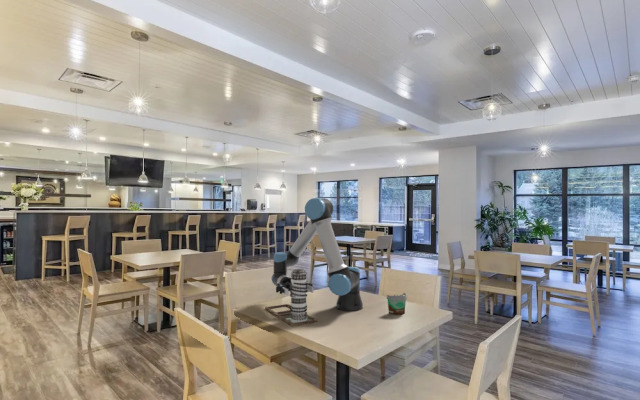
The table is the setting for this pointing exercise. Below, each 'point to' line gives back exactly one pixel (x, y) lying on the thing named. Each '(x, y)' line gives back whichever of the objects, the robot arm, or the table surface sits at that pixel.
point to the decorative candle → (298, 296)
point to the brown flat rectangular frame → (286, 316)
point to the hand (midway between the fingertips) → (300, 291)
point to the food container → (397, 304)
